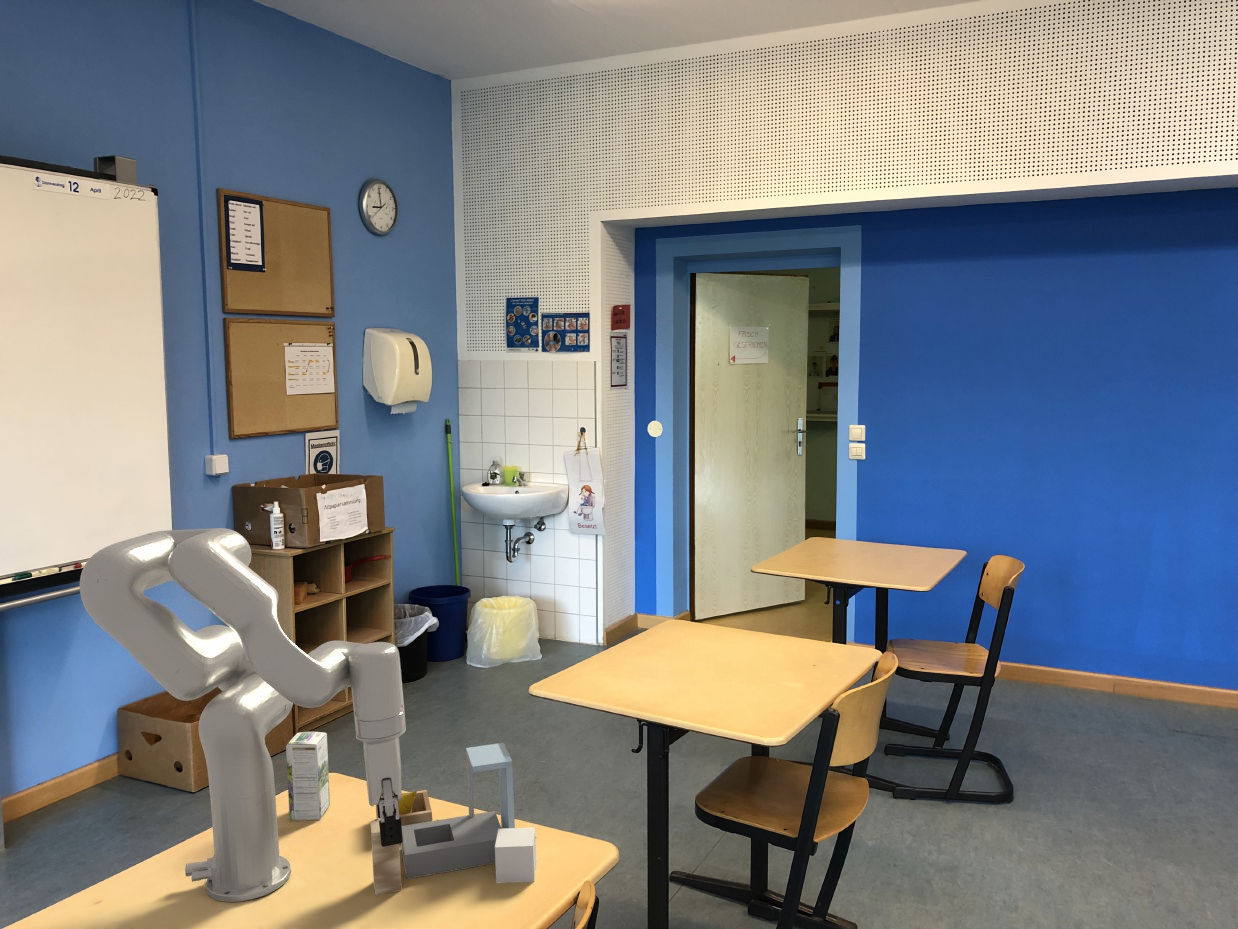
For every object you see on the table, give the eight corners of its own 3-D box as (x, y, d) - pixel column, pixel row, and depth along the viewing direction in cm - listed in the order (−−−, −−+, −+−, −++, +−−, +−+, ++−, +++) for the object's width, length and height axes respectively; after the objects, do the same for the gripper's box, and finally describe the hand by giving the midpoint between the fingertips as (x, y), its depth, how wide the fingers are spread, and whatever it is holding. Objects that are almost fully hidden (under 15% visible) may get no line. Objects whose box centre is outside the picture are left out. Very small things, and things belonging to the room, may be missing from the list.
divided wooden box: (379, 842, 162) (377, 820, 161) (376, 818, 170) (375, 797, 170) (432, 833, 164) (431, 811, 164) (427, 810, 173) (426, 789, 172)
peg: (375, 895, 145) (371, 833, 144) (373, 881, 149) (370, 821, 148) (401, 890, 147) (398, 829, 146) (399, 877, 150) (396, 817, 149)
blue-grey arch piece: (476, 860, 155) (472, 766, 153) (469, 837, 163) (465, 748, 161) (515, 853, 157) (512, 760, 155) (507, 830, 165) (503, 742, 163)
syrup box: (300, 806, 176) (295, 731, 174) (331, 805, 176) (327, 731, 174) (289, 821, 170) (284, 744, 169) (321, 820, 170) (317, 743, 169)
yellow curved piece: (404, 813, 172) (433, 786, 167) (396, 838, 167) (425, 811, 163) (379, 800, 170) (407, 772, 166) (370, 825, 166) (399, 796, 161)
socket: (406, 879, 150) (405, 855, 149) (401, 848, 159) (400, 826, 159) (506, 861, 154) (505, 838, 154) (495, 832, 164) (494, 810, 164)
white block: (499, 863, 154) (498, 828, 153) (536, 862, 154) (535, 827, 154) (496, 883, 148) (494, 847, 147) (534, 882, 148) (533, 845, 148)
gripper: (353, 709, 152) (363, 811, 154) (356, 748, 136) (367, 861, 138) (401, 702, 155) (410, 802, 156) (409, 739, 138) (419, 851, 140)
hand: (390, 829), depth 147 cm, fingers open, 9 cm apart
